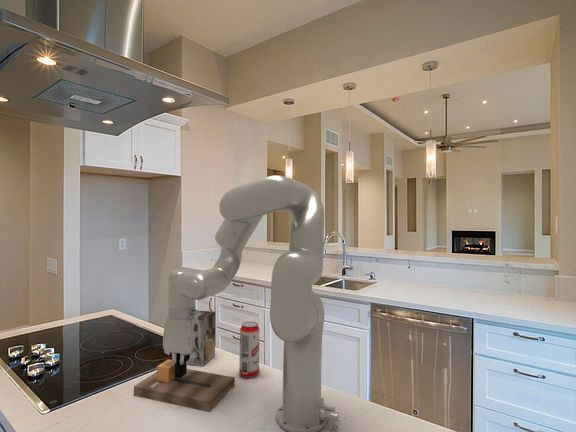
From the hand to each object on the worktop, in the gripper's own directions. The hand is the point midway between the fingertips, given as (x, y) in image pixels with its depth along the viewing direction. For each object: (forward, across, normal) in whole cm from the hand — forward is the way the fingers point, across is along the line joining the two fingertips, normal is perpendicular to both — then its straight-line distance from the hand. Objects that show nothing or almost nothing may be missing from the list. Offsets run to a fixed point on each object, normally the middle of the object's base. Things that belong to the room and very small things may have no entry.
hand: (180, 375), depth 95 cm
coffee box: (+4, +5, -19) cm, 20 cm away
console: (+4, -2, 0) cm, 4 cm away
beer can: (+4, -15, -15) cm, 22 cm away
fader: (+1, +4, 0) cm, 4 cm away
